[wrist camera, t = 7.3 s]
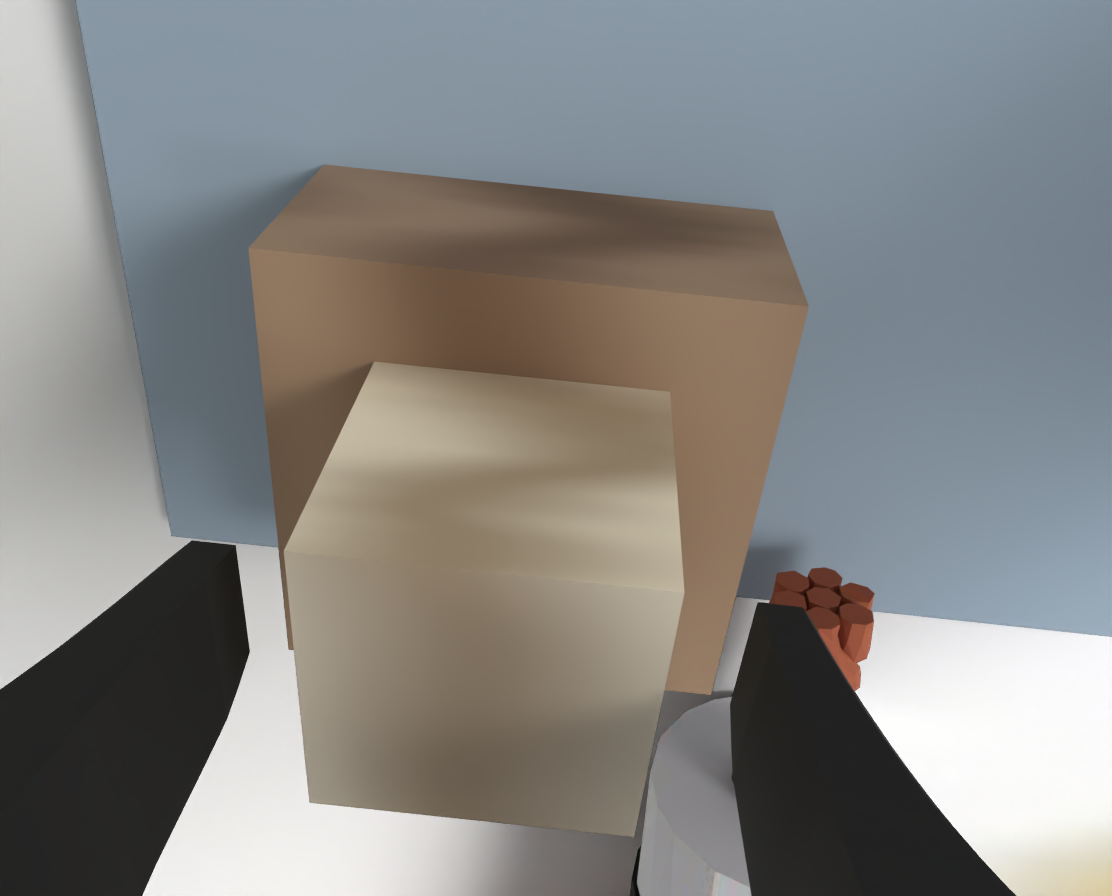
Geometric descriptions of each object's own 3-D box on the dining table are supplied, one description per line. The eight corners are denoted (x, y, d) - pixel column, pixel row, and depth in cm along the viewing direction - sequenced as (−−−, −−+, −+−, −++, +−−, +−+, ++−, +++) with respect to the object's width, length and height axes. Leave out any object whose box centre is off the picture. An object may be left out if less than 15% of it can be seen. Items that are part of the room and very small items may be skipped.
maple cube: (669, 391, 14) (684, 592, 11) (633, 611, 17) (633, 837, 13) (374, 361, 14) (283, 550, 11) (380, 584, 17) (309, 802, 13)
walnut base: (773, 210, 17) (808, 305, 13) (698, 558, 21) (710, 695, 18) (323, 164, 17) (247, 247, 13) (342, 520, 21) (288, 649, 18)
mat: (1811, -626, 11) (1869, -648, 11) (1115, 620, 22) (1127, 638, 22) (-42, -804, 11) (-74, -832, 11) (182, 519, 22) (171, 535, 22)
